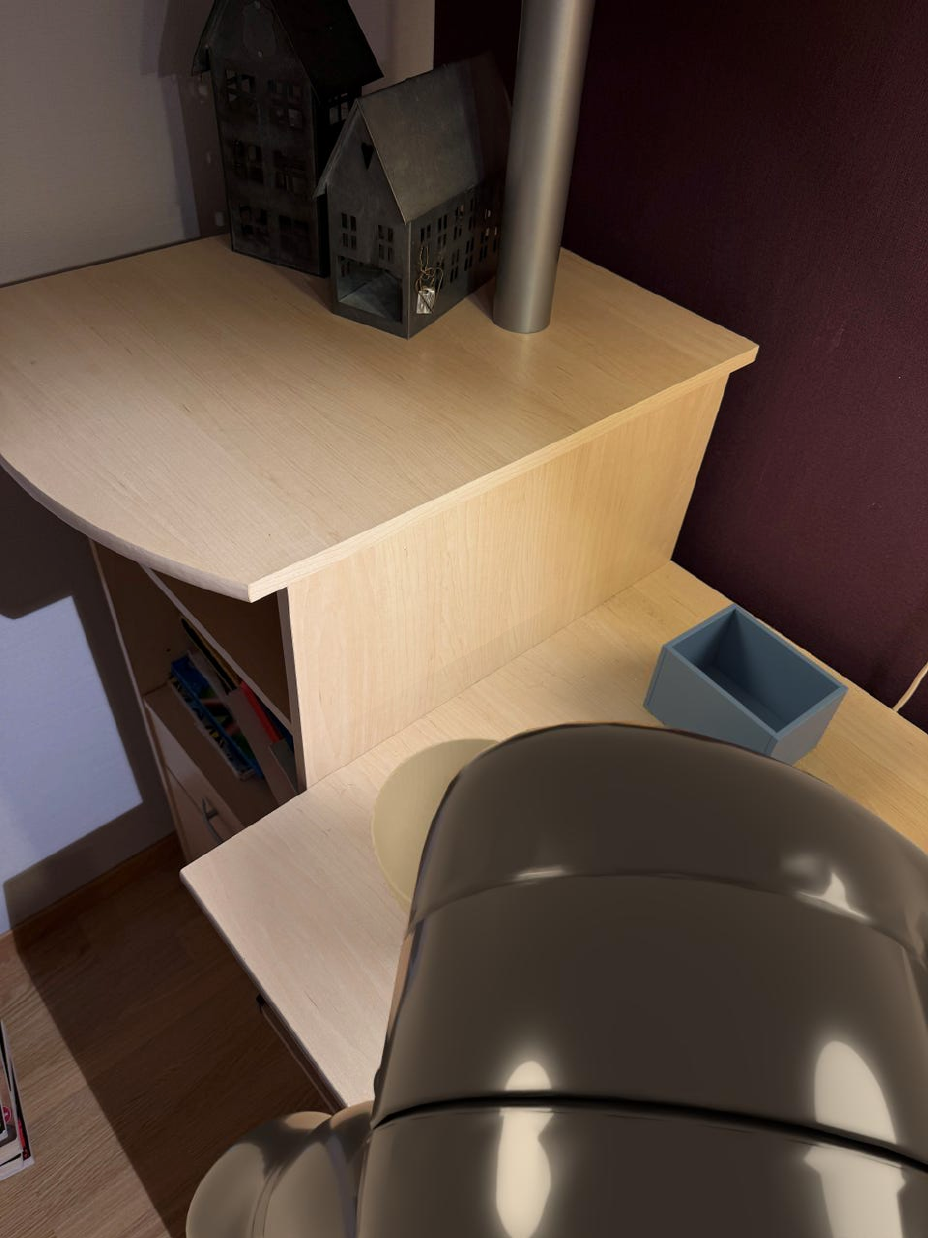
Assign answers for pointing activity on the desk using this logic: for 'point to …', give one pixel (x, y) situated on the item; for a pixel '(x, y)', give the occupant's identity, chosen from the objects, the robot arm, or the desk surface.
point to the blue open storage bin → (743, 687)
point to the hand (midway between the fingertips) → (730, 803)
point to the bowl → (414, 809)
